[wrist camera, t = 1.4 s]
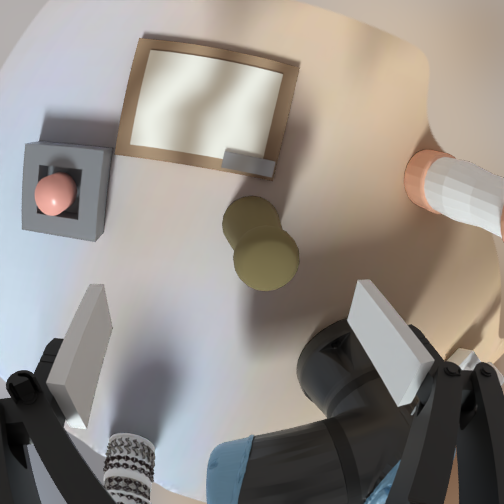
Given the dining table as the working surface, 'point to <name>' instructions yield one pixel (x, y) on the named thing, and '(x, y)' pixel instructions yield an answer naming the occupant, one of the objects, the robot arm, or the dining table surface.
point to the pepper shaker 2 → (456, 190)
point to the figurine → (470, 361)
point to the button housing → (87, 181)
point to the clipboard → (206, 108)
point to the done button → (55, 193)
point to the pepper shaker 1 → (260, 244)
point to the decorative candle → (129, 468)
